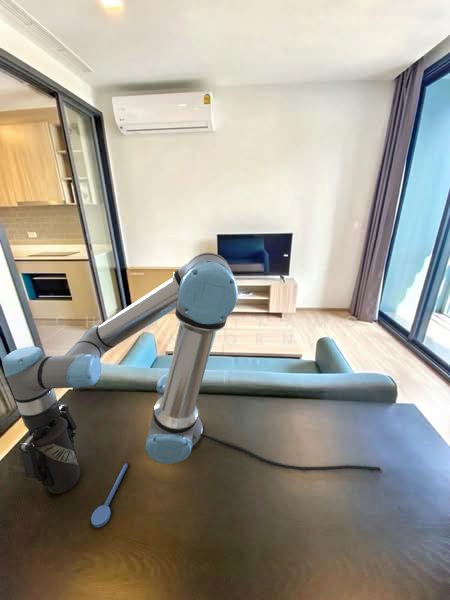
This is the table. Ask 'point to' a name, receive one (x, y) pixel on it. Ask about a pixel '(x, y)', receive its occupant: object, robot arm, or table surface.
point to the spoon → (106, 504)
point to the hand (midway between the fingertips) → (60, 468)
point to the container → (59, 457)
